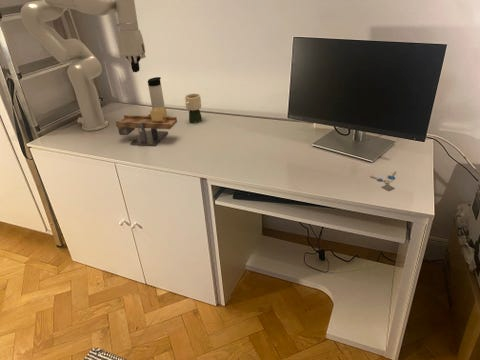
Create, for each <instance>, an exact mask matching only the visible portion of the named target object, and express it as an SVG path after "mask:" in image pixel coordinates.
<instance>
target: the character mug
mask: <svg viewBox="0 0 480 360" xmlns="http://www.w3.org/2000/svg"><path fill="white" fill-rule="evenodd" d="M184 97H185V108H186V110H189V111H188V121H189V122H190V123H199V122H202V121H203V120H202V119H203V117H202V114H201V110H200V109H201V108H202V100H201V99H202V98H201V94H199V93H189V94H186V95H185V96H184Z"/></svg>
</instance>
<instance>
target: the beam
mask: <svg viewBox="0 0 480 360" xmlns="http://www.w3.org/2000/svg"><path fill="white" fill-rule="evenodd" d="M167 118H168V121H167V122H166V123H152V118H151V116H148V115H135V114H134V115H129V114H127V115H126V114H124V115H123V118H122V120H121V121H120V120H119V121H115V125H116V126H115V127H116V128H117V129H118V134H119V136H129V135H130V134H131V133H133V131H135V130H136V129H138V125H137V124H138V123H144V127H145V129H150V130H151V129H157V130H170V129H172V128H173V127H174V126H175V124H177V123H178V120H177V116H167Z"/></svg>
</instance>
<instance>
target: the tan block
mask: <svg viewBox="0 0 480 360" xmlns="http://www.w3.org/2000/svg"><path fill="white" fill-rule="evenodd" d="M149 112H150V114H151V118H152V123H166V122H167V121H168V118H167V117H168V112H167V107H155V108H153V109H151V110H150V111H149Z"/></svg>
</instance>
